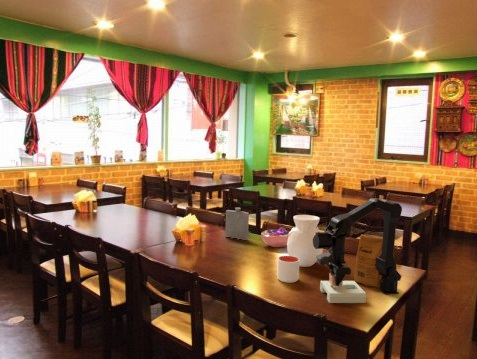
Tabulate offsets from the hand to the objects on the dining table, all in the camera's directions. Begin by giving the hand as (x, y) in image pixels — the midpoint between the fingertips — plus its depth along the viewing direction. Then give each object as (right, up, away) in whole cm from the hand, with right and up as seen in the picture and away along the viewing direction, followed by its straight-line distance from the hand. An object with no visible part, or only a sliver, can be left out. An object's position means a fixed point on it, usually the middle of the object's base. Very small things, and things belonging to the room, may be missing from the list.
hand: (335, 283), depth 170 cm
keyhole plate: (+3, -5, +1) cm, 6 cm away
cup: (-18, -3, +18) cm, 26 cm away
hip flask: (-42, +6, +89) cm, 99 cm away
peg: (0, -5, +1) cm, 5 cm away
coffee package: (+19, -4, +18) cm, 26 cm away
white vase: (-7, -1, +42) cm, 43 cm away
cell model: (-18, +3, +74) cm, 76 cm away
